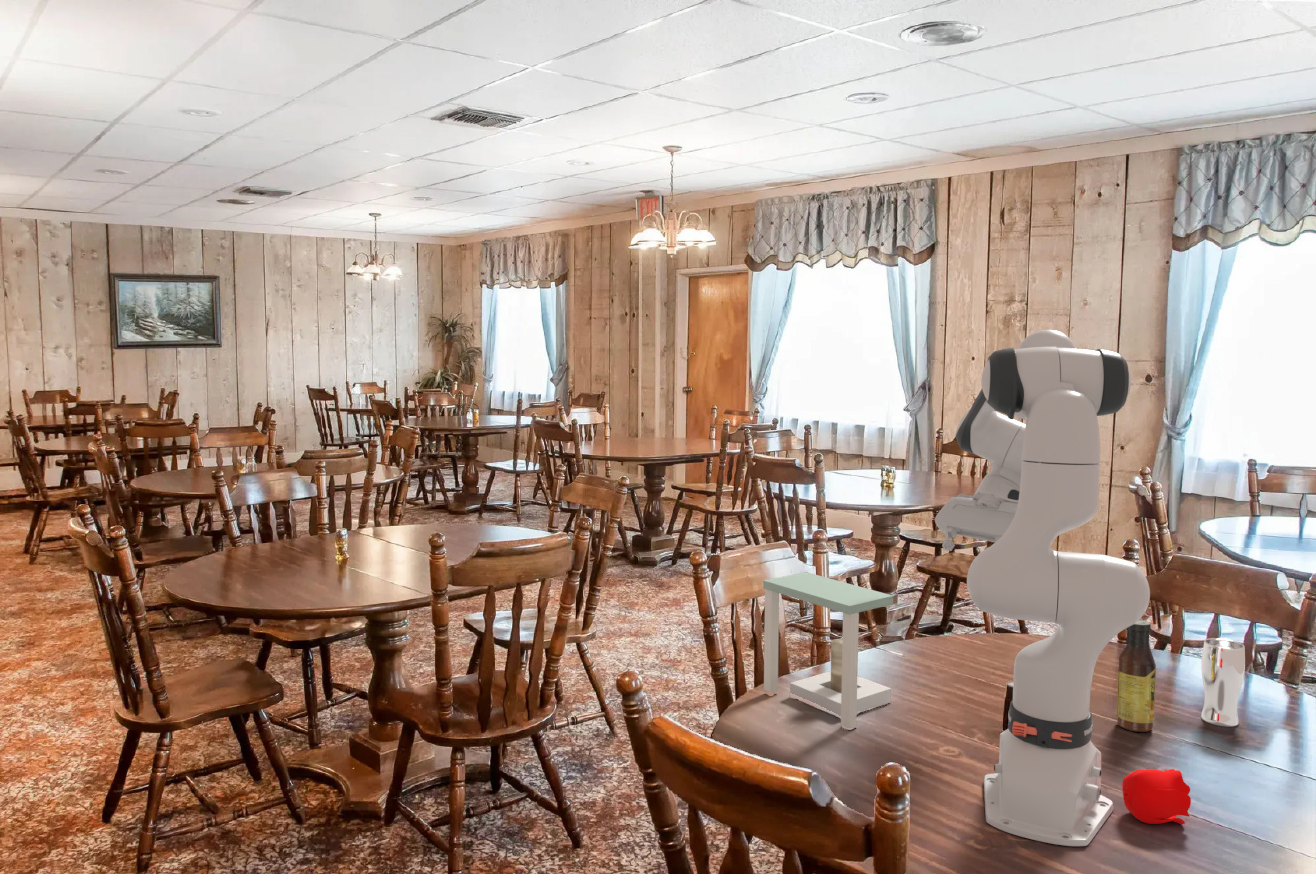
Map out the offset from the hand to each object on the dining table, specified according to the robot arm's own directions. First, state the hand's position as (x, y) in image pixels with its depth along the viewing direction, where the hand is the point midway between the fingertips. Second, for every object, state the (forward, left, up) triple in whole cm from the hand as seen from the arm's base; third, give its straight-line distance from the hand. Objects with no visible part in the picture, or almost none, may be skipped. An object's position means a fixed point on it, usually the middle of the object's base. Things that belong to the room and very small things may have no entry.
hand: (965, 553), depth 186 cm
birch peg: (-15, +21, -29) cm, 39 cm away
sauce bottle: (0, -31, -30) cm, 43 cm away
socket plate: (-14, +21, -29) cm, 39 cm away
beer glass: (+11, -45, -30) cm, 55 cm away
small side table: (-19, +23, -29) cm, 41 cm away
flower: (-38, -35, -30) cm, 59 cm away
